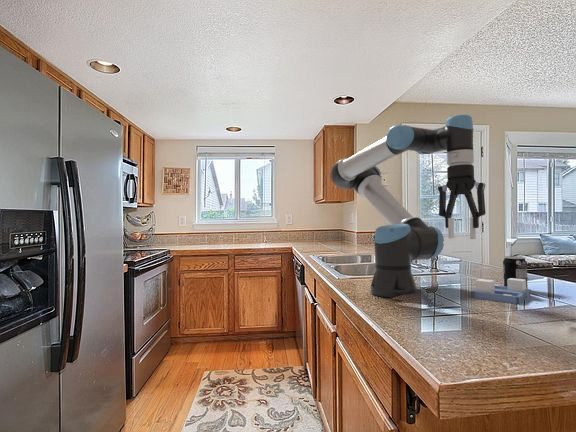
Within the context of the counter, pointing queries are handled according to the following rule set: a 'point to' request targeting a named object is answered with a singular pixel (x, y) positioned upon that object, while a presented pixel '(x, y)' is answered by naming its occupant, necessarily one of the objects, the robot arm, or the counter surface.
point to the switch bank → (503, 295)
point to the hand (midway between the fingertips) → (461, 238)
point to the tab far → (516, 284)
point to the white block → (485, 286)
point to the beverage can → (514, 269)
